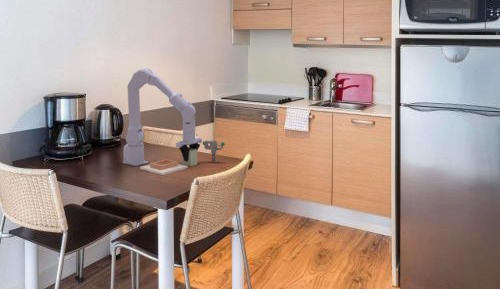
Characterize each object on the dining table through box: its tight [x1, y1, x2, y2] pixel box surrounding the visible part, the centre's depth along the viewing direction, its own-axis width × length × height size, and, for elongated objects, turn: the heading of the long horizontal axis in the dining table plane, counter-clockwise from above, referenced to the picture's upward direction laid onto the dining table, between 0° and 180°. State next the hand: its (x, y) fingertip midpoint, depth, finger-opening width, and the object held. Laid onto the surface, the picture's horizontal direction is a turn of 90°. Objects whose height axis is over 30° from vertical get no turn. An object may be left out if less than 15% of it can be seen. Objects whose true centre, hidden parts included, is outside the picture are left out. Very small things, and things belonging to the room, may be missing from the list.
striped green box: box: [181, 148, 198, 167], centre depth 210 cm, size 6×4×7 cm, turn 52°
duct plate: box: [139, 159, 189, 176], centre depth 202 cm, size 15×15×3 cm
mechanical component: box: [202, 140, 226, 163], centre depth 214 cm, size 3×10×10 cm, turn 78°
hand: (189, 160), depth 210 cm, fingers closed on striped green box, 4 cm apart
